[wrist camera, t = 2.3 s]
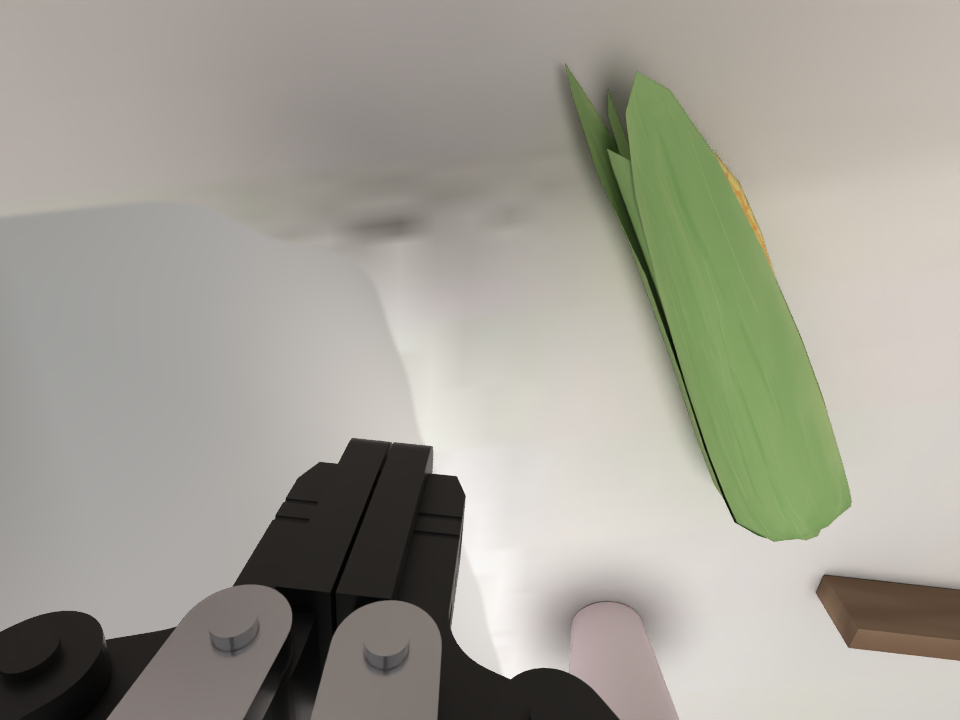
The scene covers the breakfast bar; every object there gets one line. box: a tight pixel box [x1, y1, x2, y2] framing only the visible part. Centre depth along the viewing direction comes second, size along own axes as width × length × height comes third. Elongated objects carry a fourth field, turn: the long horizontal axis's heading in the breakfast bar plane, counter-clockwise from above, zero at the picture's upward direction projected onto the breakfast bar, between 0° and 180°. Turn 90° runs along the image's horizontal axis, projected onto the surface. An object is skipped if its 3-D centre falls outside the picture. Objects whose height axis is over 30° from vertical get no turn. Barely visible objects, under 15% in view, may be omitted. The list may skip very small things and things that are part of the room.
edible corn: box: [565, 64, 852, 542], centre depth 20 cm, size 5×20×5 cm
